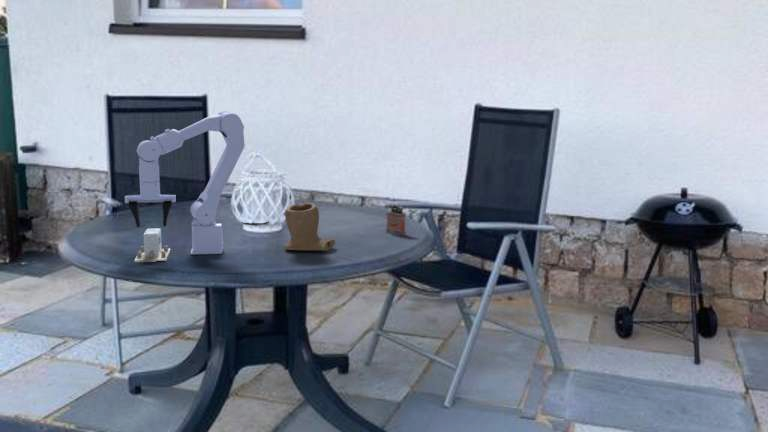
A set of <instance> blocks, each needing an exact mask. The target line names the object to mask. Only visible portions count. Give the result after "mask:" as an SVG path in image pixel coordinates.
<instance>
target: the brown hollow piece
mask: <svg viewBox="0 0 768 432" xmlns="http://www.w3.org/2000/svg"><path fill="white" fill-rule="evenodd" d="M284 217H285V223H286V227H287V230H288V231H289V233H290V237H291V238H290V241H288V242H286V243H285V244H284V248H285V249H286V250H289V251H301V252H304V251H306V252H329V251H330V250H331V249H332V248H333V247H334V245H335V244H336V239H334V238H333V239H332V238H331V239H330V238H322V237H321V238H320V237H319V235H318V231H319V221H320V212H319V208H318V207H317V205H315V204H314V203H311V202H305V203H302V204H298V203H296V204H295V203H294V204H291V205H290V206H288V207H287V208H286V209H285V211H284Z"/></svg>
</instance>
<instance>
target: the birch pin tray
mask: <svg viewBox="0 0 768 432" xmlns="http://www.w3.org/2000/svg"><path fill="white" fill-rule="evenodd" d="M139 249H140V250H139V251H137V253H136V256H135V259H134V261H133V262H134V263H154V262H155V263H157V262H156V261H165V262H167V260H168V258H169V255H170V252H171V251H172V250H171V248H170V247H169V245H164V246H163V248H162V251H161V253H160V255H159V257H153V253H148V257H145V254H144V245H142V246H140V248H139ZM170 250H171V251H170ZM167 257H168V258H167Z"/></svg>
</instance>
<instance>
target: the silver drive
mask: <svg viewBox="0 0 768 432" xmlns="http://www.w3.org/2000/svg"><path fill="white" fill-rule="evenodd" d="M143 246H144V254H145V257H148V253H153V257H159V255H160V253H161V251H162V249H163V248H162V229H161V228H147V229H146V230H145V231H144V233H143Z"/></svg>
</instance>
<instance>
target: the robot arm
mask: <svg viewBox="0 0 768 432" xmlns="http://www.w3.org/2000/svg"><path fill="white" fill-rule="evenodd" d="M244 130H245V125H244V123H243V121H242V119H241V118H240V116H239V115H238V114H236V113H232V112H229V111H221V112H219V113H215V114H212V115H210V116H207V117H205V118H203V119H201V120H198V121H197V122H194V123H193V124H190V125H189V126H186V127H184V128H183V129H180V130H177V129H174V128H172V129H170V128H167V129H165V130H164V132H163V133H160V134H158V135H156V136H155V137H154V135H152V136H151V137H150V136H149V140H143V141H141V142H139V144H138V145H137V146H136V147H137V148H136V150H135V151H136V153H137V156H138V164H139V165H138V174H139V192H140V193H139V194H135V195H132V194H131V195H125V196H124V203H125V204H128V205H127V206H128V208H129V210H130V212H131V214H132V215H133V218H134V220H135V224H136V228H140V227H141V219H140V203H162V204H161V205H162V215H163V216H162V217H163V218H162V224H163V227H167V222H168V217H169V212H170V210H171V207H172V205H173V203H176V201H177V199H176V197H177V196H176V194H161V182H160V180H161V179H160V165H159V158H160V156H164V155H166V154H169V153H170V152H173V151H174V150H177V149H179V148H181V147H183V145H184V144H183V143H184V141H186V140H189V139H191V138H194V137H197V136H198V135H202V134H204V133H207V132H209V131H211V132H218V133H220V134H221V135H222V137H223V139H224V142H225V145H226V146H225V148H224V150H223V151H222V154H221V156H220V157H219V160H218V162H217V164H216V166H215V168H214V171H213V172H212V175H211V176H210V178H209V180H208V183H207V184H206V186H205V188H204V190H203V191H202V192H201V193H200V195H199V196H198V198H197V199H196V200H195V201H194V202H193V203H192V204H191V206H190V207H189V208H190V209H189V210H190V211H189V212H190V215H191V217H192V218H193V219H192V221H191V242H192V243H191V244H192V245H191V251H190V254H189V255H218V254H219V255H220V254H223V250H224V249H223V248H224V246H225V245H224V244H225V242H224V241H223V240H224V238H223V223H221V222H219V223H217V222H216V218H217V210H218V209H219V208H218V207H219V205H220V198H221V195H222V194H223V192H224V190H225V187H226V185H227V183H228V181H229V179H230V177H231V175H232V173H233V171H234V169H235V167H236V165H237V163H238V161H239V159H240V157H241V155H242V152H243V151H244V149H245V145H246V144H245V133H244Z"/></svg>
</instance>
